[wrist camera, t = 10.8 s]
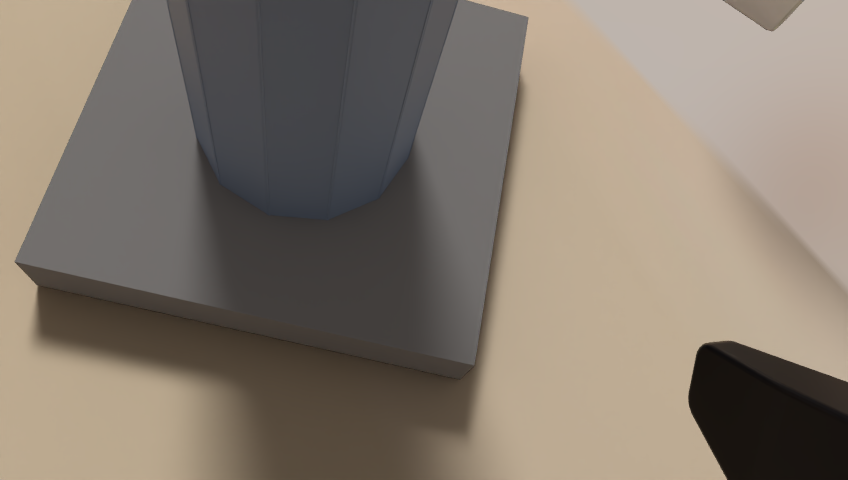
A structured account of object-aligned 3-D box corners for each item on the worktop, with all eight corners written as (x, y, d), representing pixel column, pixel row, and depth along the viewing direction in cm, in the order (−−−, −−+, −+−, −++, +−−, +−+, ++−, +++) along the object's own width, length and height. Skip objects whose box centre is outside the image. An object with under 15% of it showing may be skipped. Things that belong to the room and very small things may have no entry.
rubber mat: (513, 50, 22) (528, 17, 20) (459, 379, 17) (474, 365, 16) (175, -40, 21) (168, -81, 19) (36, 285, 17) (14, 261, 15)
